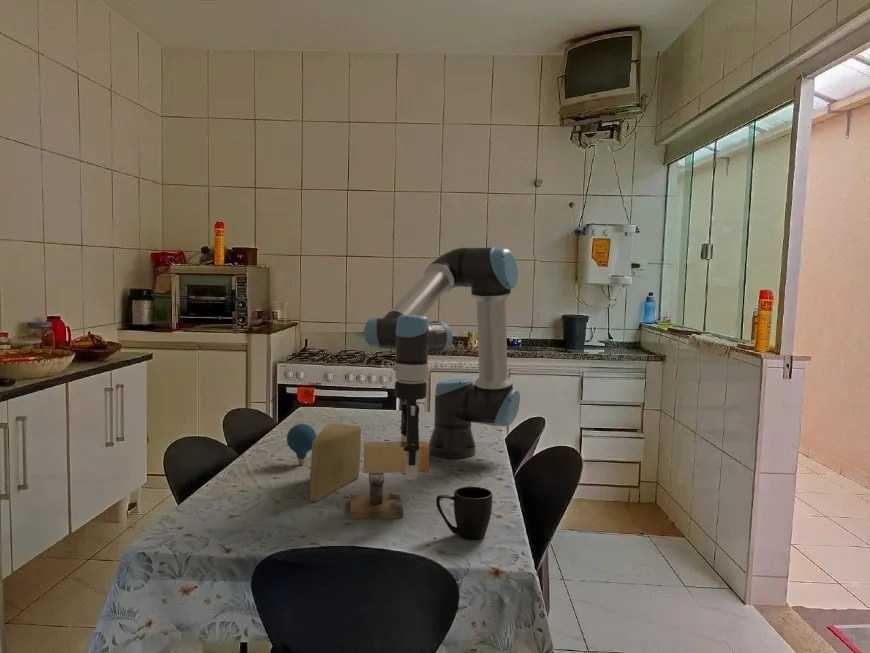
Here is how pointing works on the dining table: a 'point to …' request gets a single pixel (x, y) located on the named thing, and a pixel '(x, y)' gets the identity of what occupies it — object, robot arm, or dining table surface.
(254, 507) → the dining table surface
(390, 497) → the wooden base plate
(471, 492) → the mug
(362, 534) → the dining table surface
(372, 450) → the two-tone wooden block
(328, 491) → the cheese
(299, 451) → the light bulb
